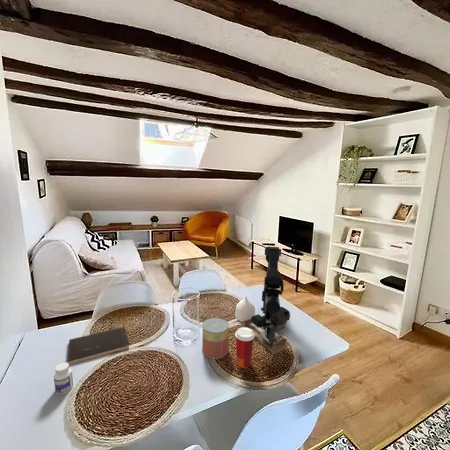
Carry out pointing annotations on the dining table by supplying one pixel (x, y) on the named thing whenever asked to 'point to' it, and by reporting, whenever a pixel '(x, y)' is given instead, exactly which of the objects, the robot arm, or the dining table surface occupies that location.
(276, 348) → the rail
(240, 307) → the teardrop
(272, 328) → the carriage
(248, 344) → the paper cup
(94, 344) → the hardcover book
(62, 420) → the dining table surface
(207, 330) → the canned food
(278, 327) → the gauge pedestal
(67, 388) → the pill bottle
